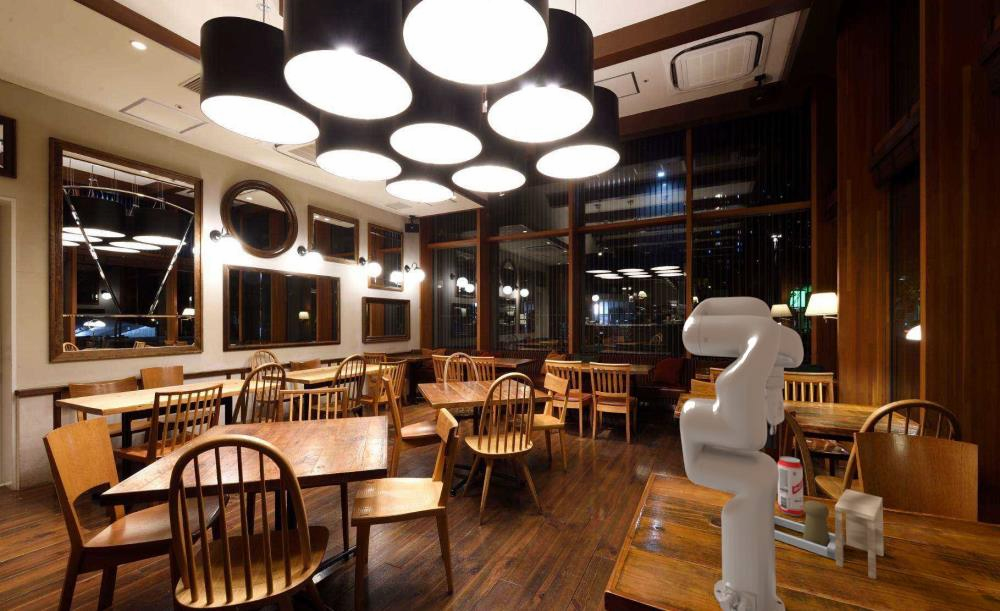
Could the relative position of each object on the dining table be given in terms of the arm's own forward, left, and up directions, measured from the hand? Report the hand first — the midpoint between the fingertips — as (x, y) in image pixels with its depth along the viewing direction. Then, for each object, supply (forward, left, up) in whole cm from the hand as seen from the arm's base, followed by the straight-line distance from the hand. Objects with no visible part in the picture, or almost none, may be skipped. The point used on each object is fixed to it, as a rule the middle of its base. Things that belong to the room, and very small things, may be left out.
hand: (768, 447), depth 115 cm
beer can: (+16, -1, -23) cm, 28 cm away
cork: (0, -10, -23) cm, 25 cm away
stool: (0, -19, -23) cm, 30 cm away
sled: (0, -5, -22) cm, 23 cm away
